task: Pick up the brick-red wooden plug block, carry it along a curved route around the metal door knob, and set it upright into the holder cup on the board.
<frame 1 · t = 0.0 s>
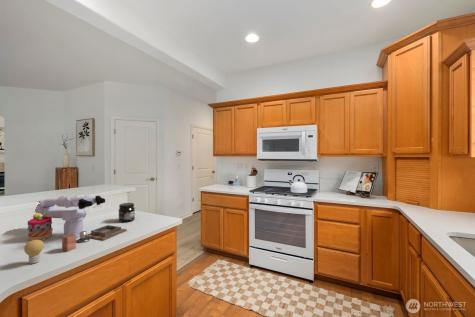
hand: (98, 202, 121), 21 cm above the worktop, tool horizontal, fingers open, 7 cm apart
light bulb: (34, 262, 97), on the worktop
metal door knob: (83, 240, 120), on the worktop
cake: (40, 238, 124), on the worktop, touching arm
plug block: (69, 249, 110), on the worktop
supplement container: (126, 220, 156), on the worktop
holder board: (106, 233, 131), on the worktop
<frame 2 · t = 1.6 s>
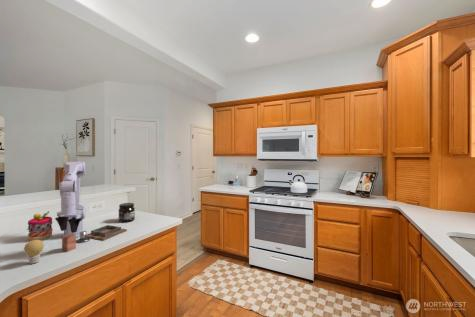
hand: (68, 231, 109), 9 cm above the worktop, tool pointing down, fingers open, 7 cm apart
cake: (40, 238, 124), on the worktop
everything else where it was.
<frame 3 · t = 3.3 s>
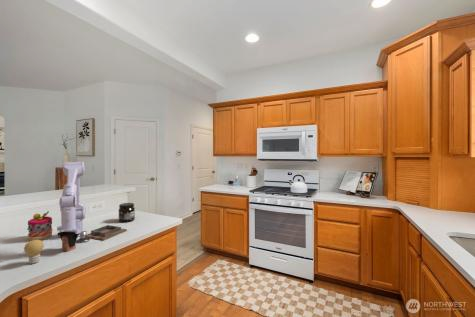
hand: (69, 245, 109), 2 cm above the worktop, tool pointing down, fingers closed on plug block, 4 cm apart
plug block: (69, 249, 110), on the worktop, touching gripper
everything else where it was.
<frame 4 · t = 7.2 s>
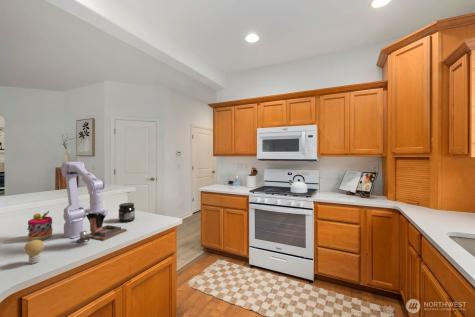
hand: (96, 226, 117), 9 cm above the worktop, tool pointing down, fingers closed on plug block, 4 cm apart
plug block: (96, 230, 117), point 7 cm above the worktop, touching gripper
everything else where it was.
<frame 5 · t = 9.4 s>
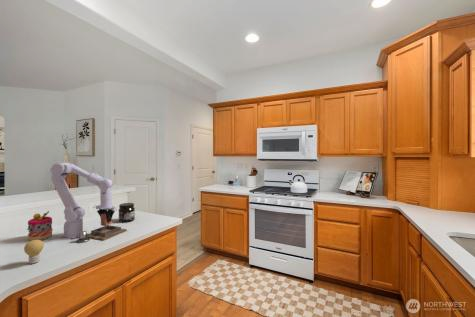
hand: (106, 221, 130), 8 cm above the worktop, tool pointing down, fingers closed on plug block, 4 cm apart
plug block: (106, 224, 131), point 6 cm above the worktop, touching gripper
everything else where it was.
when the fingers open (4 cm above the worktop, at t = 11.2 s): plug block stays where it is, resting on holder board.
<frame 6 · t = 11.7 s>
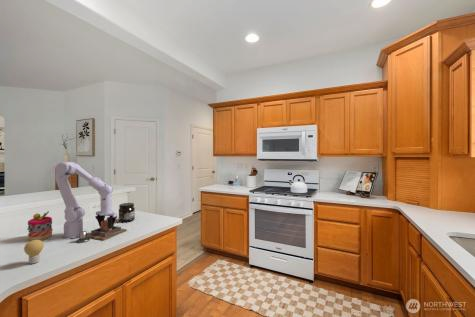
hand: (106, 227, 131), 4 cm above the worktop, tool pointing down, fingers open, 7 cm apart
plug block: (106, 232, 131), point 1 cm above the worktop, touching holder board
everything else where it was.
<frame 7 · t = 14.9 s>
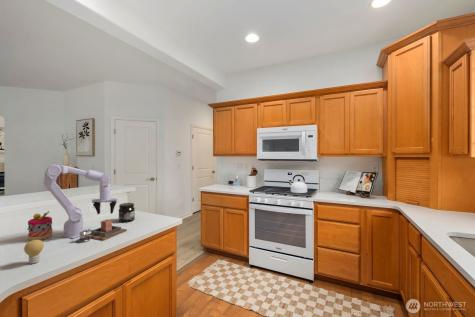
hand: (105, 213, 137), 10 cm above the worktop, tool pointing down, fingers open, 7 cm apart
nothing on the worktop moved.
at the end: plug block 0.0 cm off-centre on the holder board, point 1.0 cm above the holder board's base; the gripper is holding nothing; plug block tilted 0° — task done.
